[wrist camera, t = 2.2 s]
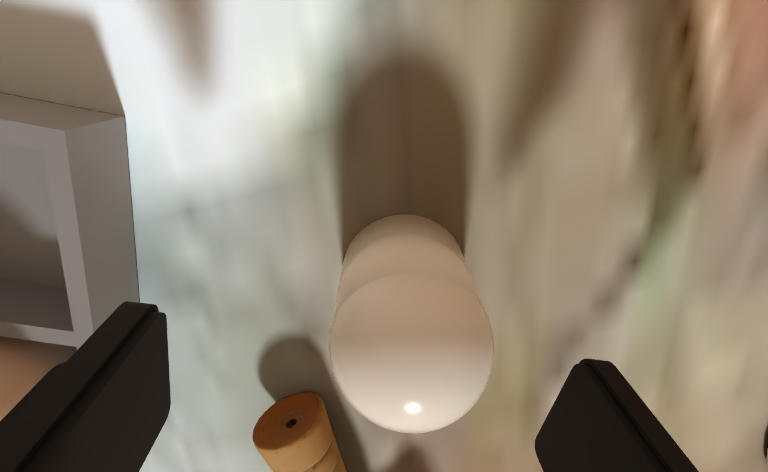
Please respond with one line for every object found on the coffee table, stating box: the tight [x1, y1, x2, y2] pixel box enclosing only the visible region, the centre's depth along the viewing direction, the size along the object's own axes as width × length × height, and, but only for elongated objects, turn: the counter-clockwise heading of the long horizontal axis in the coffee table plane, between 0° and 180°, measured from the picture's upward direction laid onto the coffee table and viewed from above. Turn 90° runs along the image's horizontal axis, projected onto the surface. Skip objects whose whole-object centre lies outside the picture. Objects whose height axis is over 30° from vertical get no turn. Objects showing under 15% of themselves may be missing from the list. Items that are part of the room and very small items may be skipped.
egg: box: [329, 214, 494, 433], centre depth 11 cm, size 4×4×6 cm
